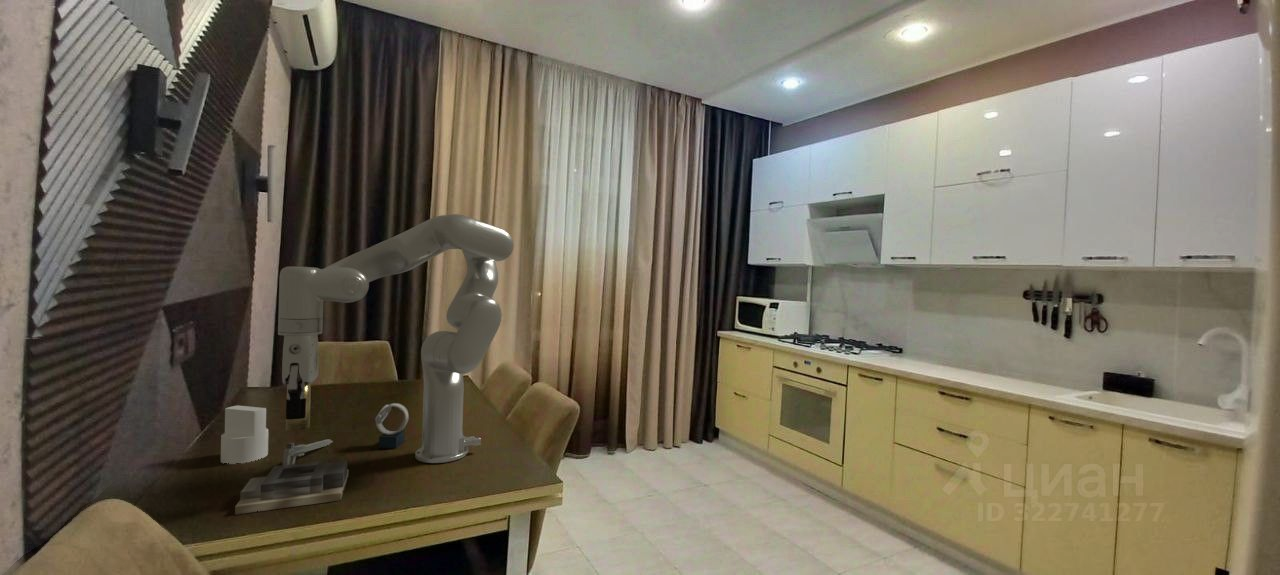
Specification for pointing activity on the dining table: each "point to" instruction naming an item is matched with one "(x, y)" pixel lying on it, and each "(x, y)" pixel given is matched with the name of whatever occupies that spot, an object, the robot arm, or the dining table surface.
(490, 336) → the robot arm
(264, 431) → the cylinder with rectangular tab
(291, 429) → the brass pin
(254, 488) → the gray stepped fixture base
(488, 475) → the dining table surface
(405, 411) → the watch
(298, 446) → the caliper
